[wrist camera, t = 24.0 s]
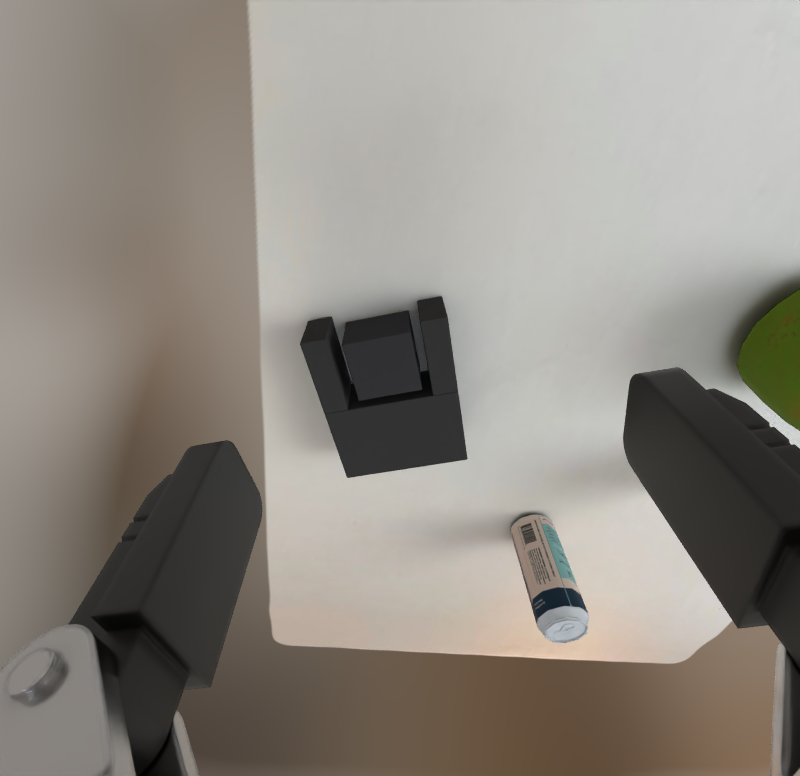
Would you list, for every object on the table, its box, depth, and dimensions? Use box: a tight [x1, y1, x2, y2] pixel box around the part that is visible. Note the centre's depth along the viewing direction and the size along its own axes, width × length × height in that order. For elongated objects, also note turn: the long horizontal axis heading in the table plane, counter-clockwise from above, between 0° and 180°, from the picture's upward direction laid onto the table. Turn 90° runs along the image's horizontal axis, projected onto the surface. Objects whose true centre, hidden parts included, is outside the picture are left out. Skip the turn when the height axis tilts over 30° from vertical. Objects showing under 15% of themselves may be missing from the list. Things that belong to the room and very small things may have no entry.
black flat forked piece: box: [300, 297, 467, 478], centre depth 37 cm, size 14×11×4 cm
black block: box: [342, 311, 422, 401], centre depth 35 cm, size 5×5×4 cm
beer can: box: [511, 515, 589, 643], centre depth 45 cm, size 5×5×12 cm
